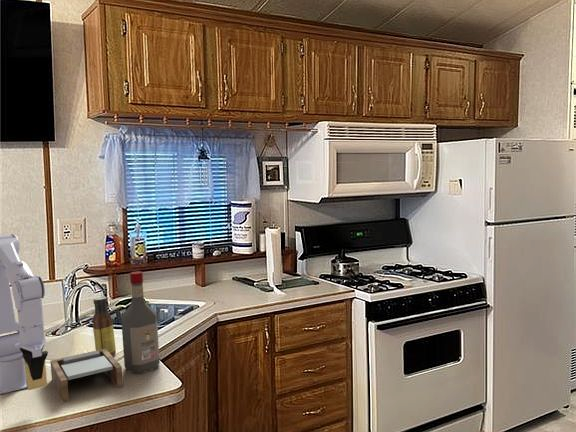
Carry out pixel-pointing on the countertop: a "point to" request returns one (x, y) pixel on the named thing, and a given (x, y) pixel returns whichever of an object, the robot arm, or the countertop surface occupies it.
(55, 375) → the frame
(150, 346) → the liquor
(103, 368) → the trapdoor
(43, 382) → the yellow wooden block
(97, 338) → the sauce bottle
